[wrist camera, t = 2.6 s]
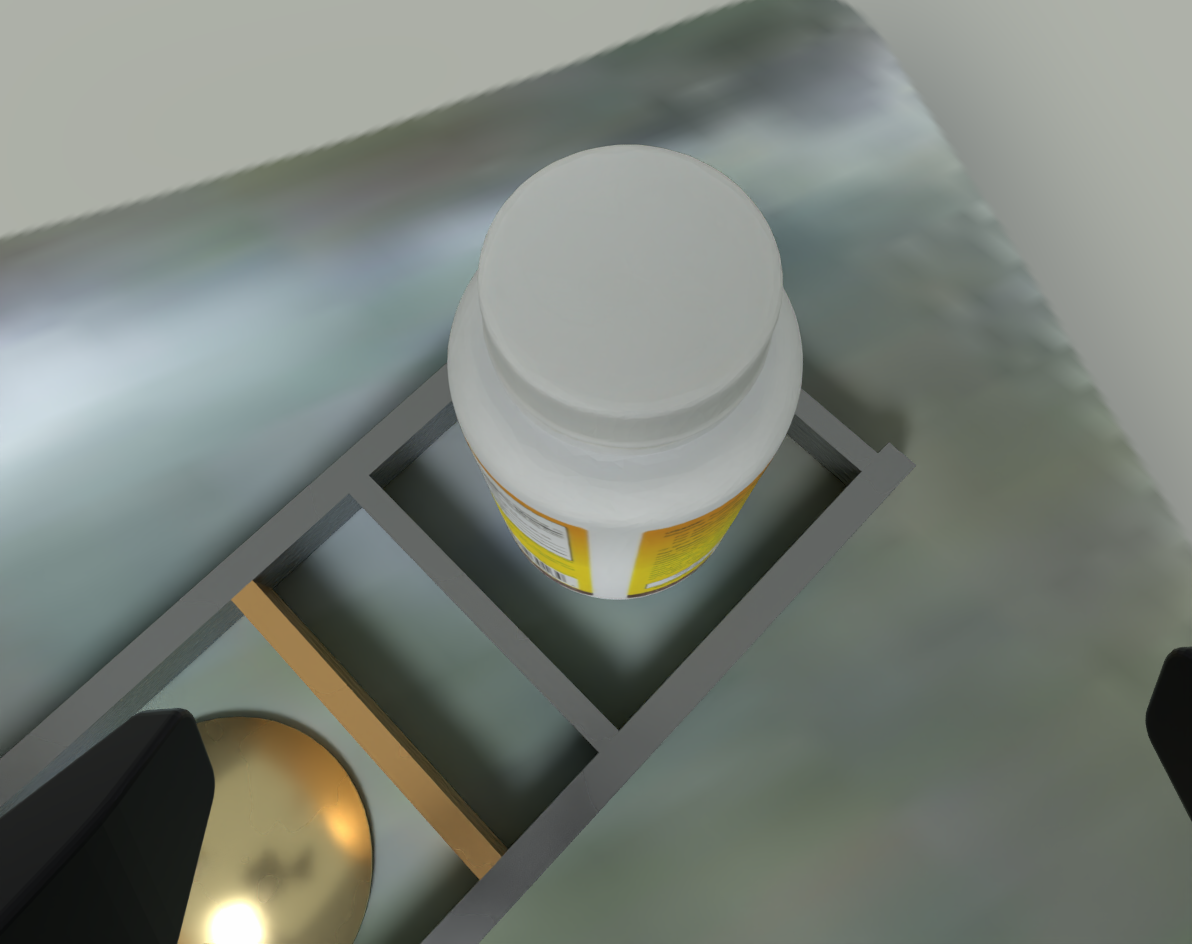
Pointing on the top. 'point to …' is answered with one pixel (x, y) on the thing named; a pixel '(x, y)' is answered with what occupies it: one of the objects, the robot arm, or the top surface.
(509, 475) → the supplement bottle
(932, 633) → the top surface
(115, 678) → the rack
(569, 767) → the top surface
